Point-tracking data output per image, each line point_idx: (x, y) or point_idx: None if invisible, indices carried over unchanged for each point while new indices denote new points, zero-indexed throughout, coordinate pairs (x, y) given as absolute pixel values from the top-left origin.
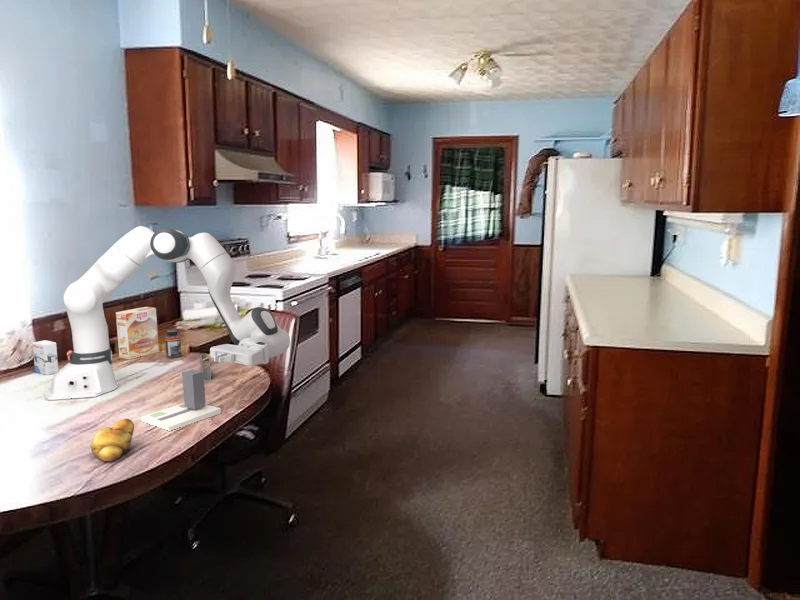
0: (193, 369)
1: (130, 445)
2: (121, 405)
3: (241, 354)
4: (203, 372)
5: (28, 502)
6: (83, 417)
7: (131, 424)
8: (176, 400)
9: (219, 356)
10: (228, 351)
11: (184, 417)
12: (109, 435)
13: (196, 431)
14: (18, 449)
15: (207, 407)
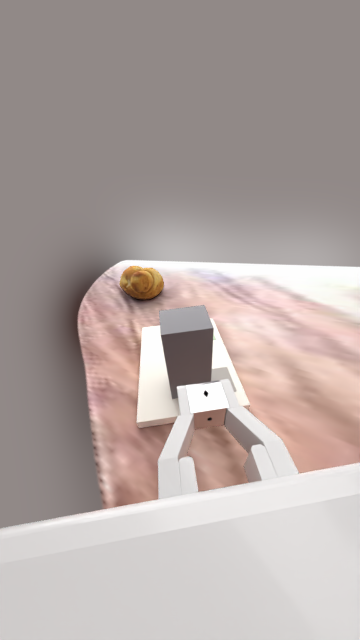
0: (209, 326)
1: (130, 294)
2: (315, 327)
3: (38, 524)
4: (161, 336)
5: (120, 263)
6: (277, 295)
7: (132, 279)
8: (306, 399)
9: (210, 398)
10: (239, 489)
11: (156, 352)
12: (127, 268)
13: (108, 354)
14: (215, 265)
15: (170, 404)
